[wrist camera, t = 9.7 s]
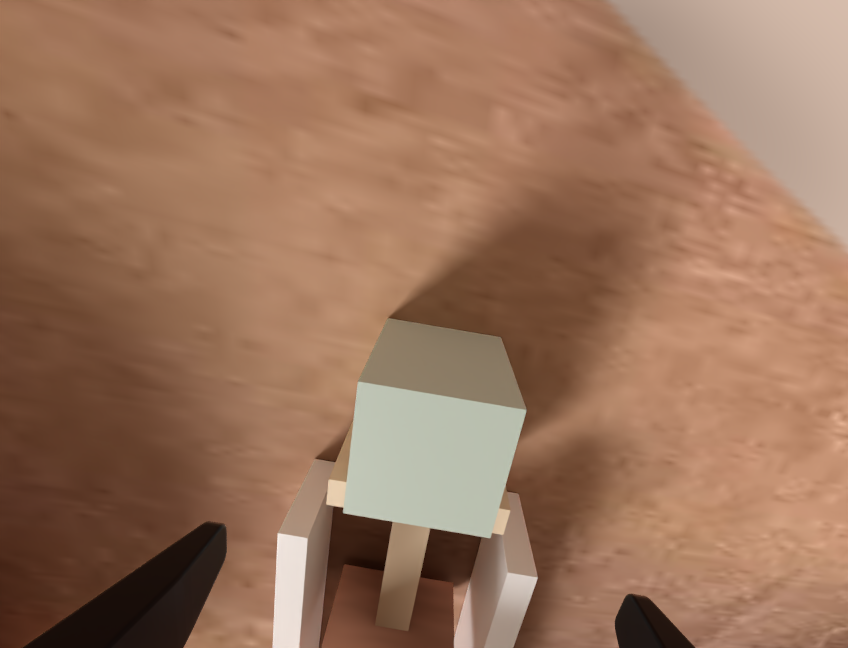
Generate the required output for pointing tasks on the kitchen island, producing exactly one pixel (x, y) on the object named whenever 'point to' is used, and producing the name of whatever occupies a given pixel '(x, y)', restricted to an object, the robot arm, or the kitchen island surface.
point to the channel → (308, 558)
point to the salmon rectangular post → (392, 587)
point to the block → (434, 429)
